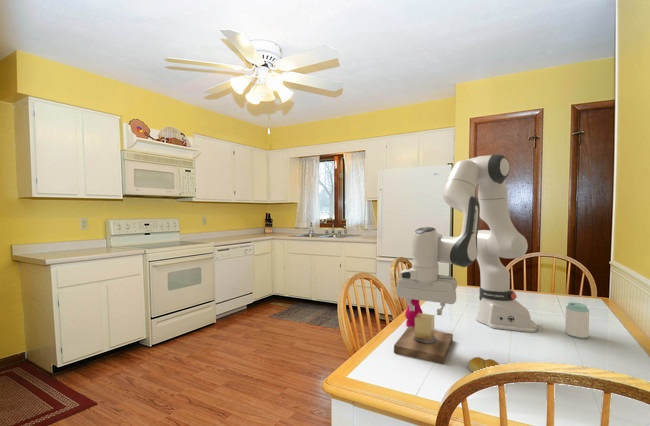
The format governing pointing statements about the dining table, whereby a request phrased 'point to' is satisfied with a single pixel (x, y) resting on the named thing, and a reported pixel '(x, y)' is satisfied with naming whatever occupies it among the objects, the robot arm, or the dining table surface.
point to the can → (577, 320)
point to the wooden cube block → (424, 326)
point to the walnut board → (424, 345)
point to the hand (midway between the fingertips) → (425, 312)
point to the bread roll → (480, 363)
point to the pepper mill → (412, 313)
